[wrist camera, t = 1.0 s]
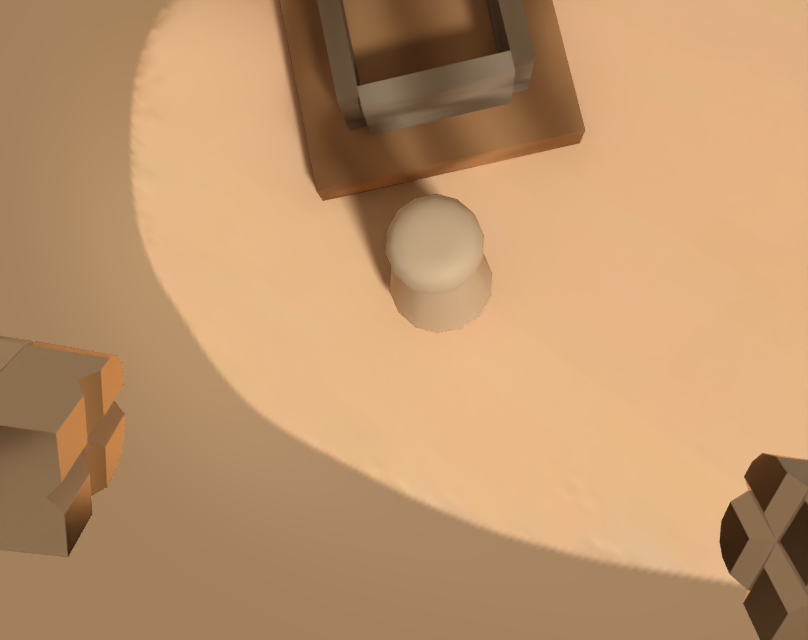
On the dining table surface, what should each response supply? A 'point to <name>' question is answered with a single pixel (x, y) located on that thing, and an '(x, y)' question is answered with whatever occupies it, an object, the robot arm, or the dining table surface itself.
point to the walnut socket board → (426, 87)
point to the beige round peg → (437, 264)
